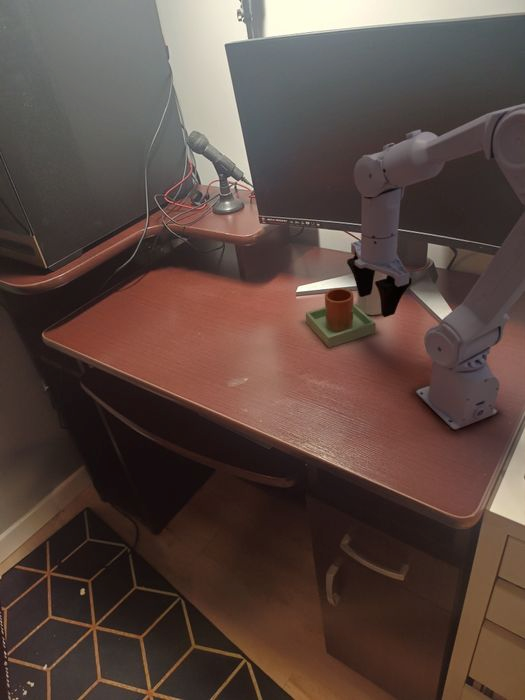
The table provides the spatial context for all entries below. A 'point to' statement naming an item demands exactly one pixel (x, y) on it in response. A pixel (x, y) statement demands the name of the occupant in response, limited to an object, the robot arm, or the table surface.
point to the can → (371, 298)
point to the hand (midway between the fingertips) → (376, 304)
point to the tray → (360, 329)
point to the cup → (339, 310)
